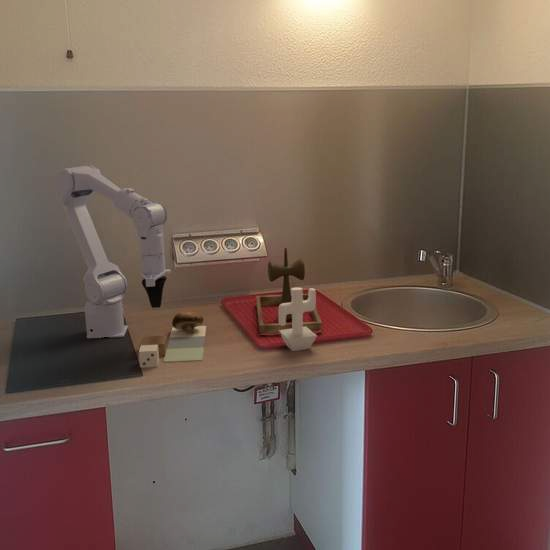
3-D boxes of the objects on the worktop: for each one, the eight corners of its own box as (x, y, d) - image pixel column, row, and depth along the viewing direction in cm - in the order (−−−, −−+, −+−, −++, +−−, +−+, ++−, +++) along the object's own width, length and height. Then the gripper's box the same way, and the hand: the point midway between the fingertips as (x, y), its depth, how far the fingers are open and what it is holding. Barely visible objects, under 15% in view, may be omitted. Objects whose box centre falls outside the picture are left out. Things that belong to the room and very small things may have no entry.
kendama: (306, 320, 187) (305, 248, 182) (271, 323, 186) (269, 251, 180) (301, 313, 193) (301, 244, 188) (268, 316, 191) (266, 246, 186)
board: (163, 362, 161) (163, 361, 161) (172, 327, 184) (172, 327, 184) (202, 360, 161) (202, 359, 161) (206, 326, 184) (206, 325, 184)
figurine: (274, 344, 170) (273, 286, 166) (310, 339, 173) (309, 282, 169) (284, 355, 163) (283, 294, 159) (321, 349, 166) (321, 289, 162)
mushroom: (196, 327, 173) (191, 304, 176) (169, 337, 176) (164, 314, 178) (210, 332, 181) (206, 310, 183) (184, 341, 183) (180, 319, 185)
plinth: (140, 356, 164) (139, 345, 163) (143, 347, 170) (142, 336, 169) (165, 355, 165) (164, 344, 164) (167, 346, 170) (166, 335, 170)
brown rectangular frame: (259, 335, 176) (259, 325, 176) (256, 305, 201) (256, 296, 201) (321, 333, 177) (321, 322, 176) (310, 302, 202) (310, 293, 201)
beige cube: (142, 361, 162) (140, 368, 158) (140, 345, 161) (138, 351, 157) (159, 360, 162) (157, 367, 158) (158, 344, 161) (156, 350, 157)
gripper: (165, 259, 159) (169, 315, 163) (172, 245, 173) (175, 297, 177) (135, 260, 159) (139, 316, 162) (143, 246, 173) (147, 298, 176)
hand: (156, 306), depth 170 cm, fingers closed
